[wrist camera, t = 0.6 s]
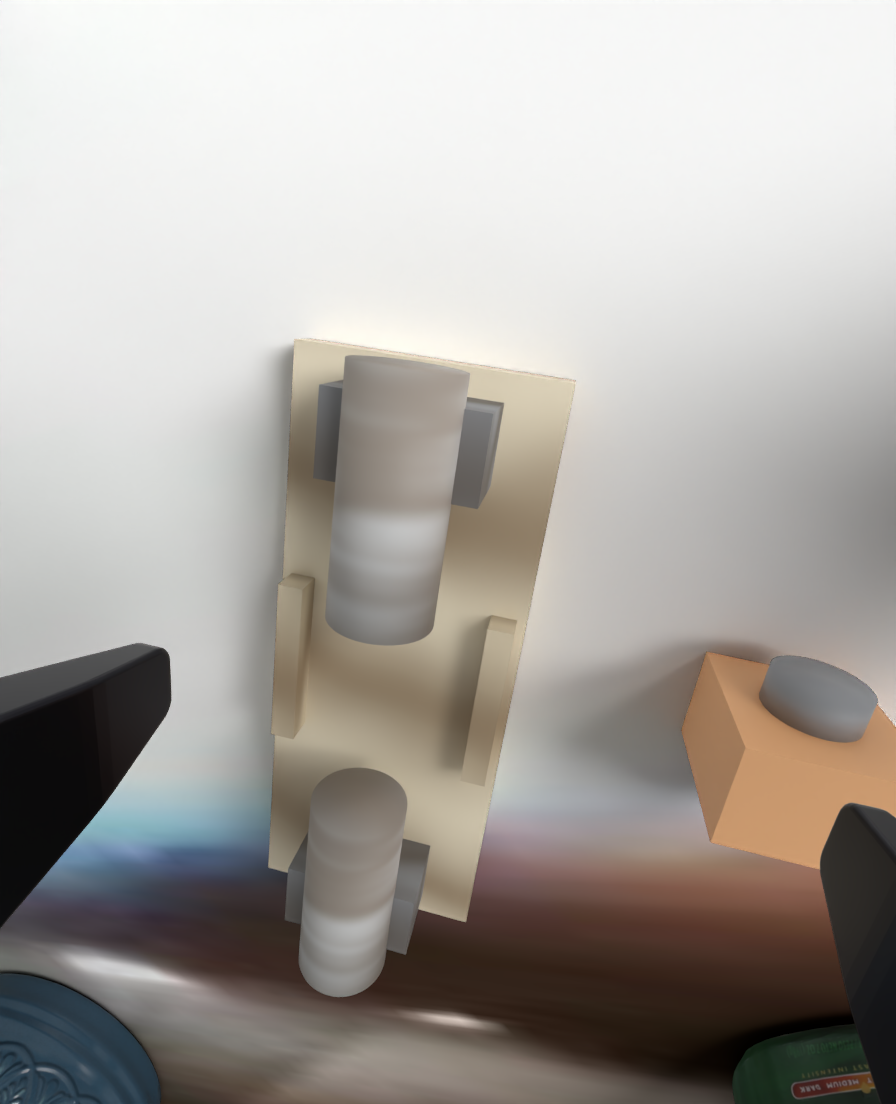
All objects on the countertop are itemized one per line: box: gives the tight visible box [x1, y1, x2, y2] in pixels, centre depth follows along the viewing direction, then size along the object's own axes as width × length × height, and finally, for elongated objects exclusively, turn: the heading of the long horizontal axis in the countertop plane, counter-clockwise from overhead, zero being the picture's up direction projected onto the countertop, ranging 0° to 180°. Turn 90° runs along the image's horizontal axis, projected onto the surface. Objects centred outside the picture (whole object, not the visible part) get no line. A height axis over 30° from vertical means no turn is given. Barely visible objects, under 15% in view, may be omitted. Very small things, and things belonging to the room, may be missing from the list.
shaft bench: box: [268, 339, 576, 997], centre depth 20 cm, size 20×8×5 cm, turn 171°
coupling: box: [681, 652, 896, 869], centre depth 18 cm, size 5×5×5 cm
